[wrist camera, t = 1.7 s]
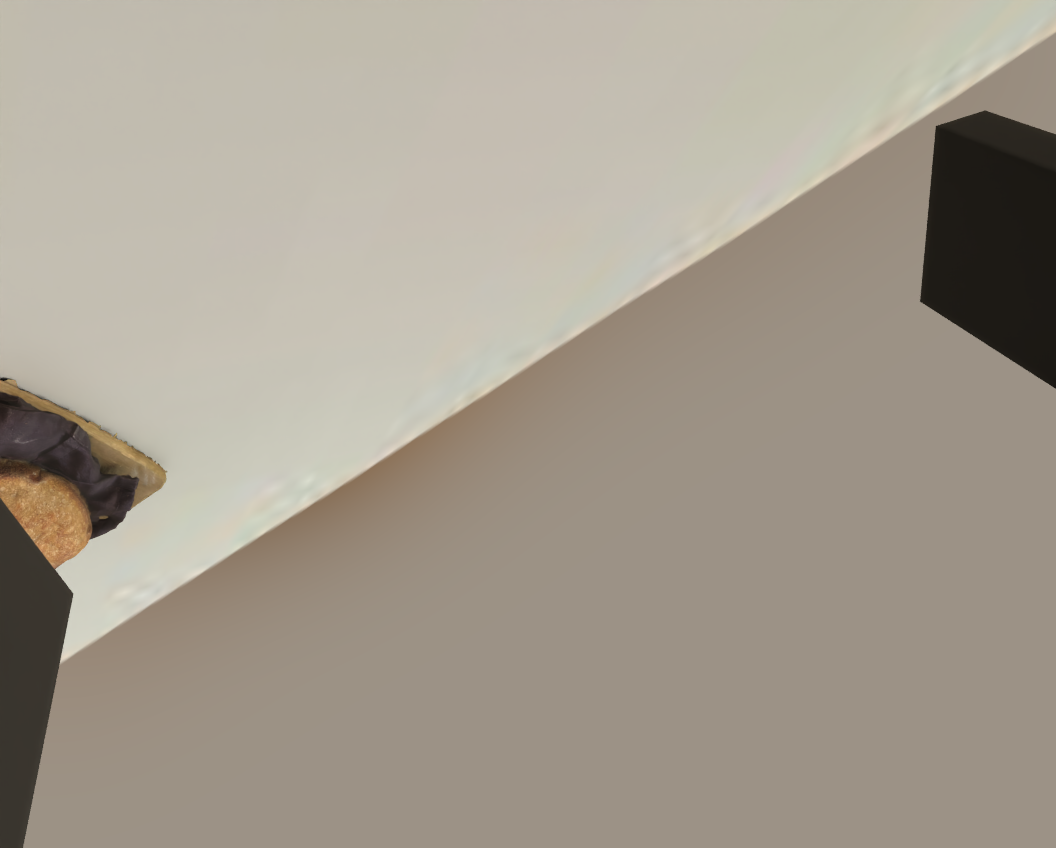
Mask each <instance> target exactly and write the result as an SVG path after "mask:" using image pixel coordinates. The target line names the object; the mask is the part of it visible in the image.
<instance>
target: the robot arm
mask: <svg viewBox="0 0 1056 848" xmlns="http://www.w3.org/2000/svg"><path fill="white" fill-rule="evenodd" d="M920 302H922V303H923V304H925V305H927V306H928V307H930V308H931V309H933V310H934V311H936V312H937V313H939V314H940V315H942V316H944V317H945V318H947V319H948V320H950V321H951V322H953V323H954V324H956V325H958V326H959V327H961V328H962V329H964V330H965V331H967V332H968V333H970V334H972V335H973V336H975V337H976V338H978V339H979V340H981V341H983V342H984V343H986V344H987V345H989V346H990V347H992V348H993V349H995V350H997V351H998V352H1000V353H1001V354H1003V355H1004V356H1006V357H1007V358H1009V359H1010V360H1012V361H1014V362H1015V363H1017V364H1018V365H1020V366H1022V367H1023V368H1024V369H1026V370H1028V371H1029V372H1031V373H1032V374H1034V375H1035V376H1037V377H1038V378H1040V379H1042V380H1043V381H1045V382H1046V383H1048V384H1049V385H1051V386H1053V387H1054V388H1056V134H1053V133H1050V132H1047V131H1044V130H1041V129H1038V128H1035V127H1032V126H1029V125H1026V124H1023V123H1020V122H1017V121H1014V120H1011V119H1008V118H1005V117H1002V116H999V115H997V114H993V113H991V112H988V111H983V112H979V113H976V114H973V115H970V116H966V117H963V118H960V119H957V120H954V121H951V122H948V123H944V124H941V125H938V126H936V132H935V143H934V154H933V165H932V176H931V187H930V198H929V210H928V221H927V232H926V243H925V254H924V265H923V277H922V288H921V299H920ZM72 598H73V593H72V591H71V590H70V589H69V588H68V586H67V585H66V584H65V582H64V581H63V580H62V578H61V577H60V576H59V574H58V573H57V572H56V570H55V569H54V568H53V566H52V565H51V564H50V563H49V561H48V560H47V559H46V557H45V556H44V555H43V553H42V552H41V551H40V549H39V548H38V547H37V545H36V544H35V543H34V541H33V540H32V539H31V538H30V536H29V535H28V534H27V532H26V531H25V530H24V528H23V527H22V526H21V524H20V523H19V522H18V520H17V519H16V518H15V516H14V515H13V514H12V513H11V511H10V510H9V509H8V507H7V506H6V505H5V503H4V502H3V501H2V499H1V498H0V848H23V844H24V839H25V834H26V829H27V824H28V819H29V814H30V809H31V804H32V799H33V794H34V788H35V784H36V779H37V774H38V769H39V763H40V759H41V754H42V748H43V744H44V738H45V734H46V728H47V724H48V719H49V714H50V709H51V704H52V698H53V693H54V688H55V683H56V678H57V673H58V668H59V663H60V658H61V653H62V648H63V643H64V638H65V633H66V628H67V623H68V618H69V613H70V608H71V603H72Z"/></svg>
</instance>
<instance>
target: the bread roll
mask: <svg viewBox="0 0 1056 848" xmlns="http://www.w3.org/2000/svg"><path fill="white" fill-rule="evenodd" d="M100 427H101V425H100V426H98V425H97V424H95V423H93V422H90V421H89V423H87V422H86V421H84V419H83V418H82V417H79V416H77V415H76V413H75V411H69V410H66V409H63V408H61V407H59V406H57V405H56V404H54V403H52V402H50V401H49V400H46V399H43V400H41V399H40V398H38V397H37V396H35V395H33V394H31V393H30V392H28V391H23V390H20V389H18V387H17V384H16V381H15V380H9V379H8V380H6V381H2V380H0V498H1V499H2V501H3V502H4V503H5V505H6V506H7V507H8V509H9V510H10V511H11V513H12V514H13V515H14V516H15V518H16V519H17V520H18V522H19V523H20V524H21V526H22V527H23V528H24V530H25V531H26V532H27V534H28V535H29V536H30V538H31V539H32V540H33V541H34V543H35V544H36V545H37V547H38V548H39V549H40V551H41V552H42V553H43V555H44V556H45V557H46V559H47V560H48V561H49V563H50V564H51V565H52V566H53V568H54V569H56V568H57V567H58V566H60V565H61V564H62V563H64V562H65V561H67V560H69V559H71V558H73V557H74V556H76V555H77V554H78V553H79V552H80V551H81V550H82V549H83V548H84V547H85V546H86V545H87V543H88V541H89V540H90V539H93V538H95V537H98V536H100V535H103V534H105V533H107V532H109V531H110V530H113V529H115V528H116V527H117V525H118V524H119V523H121V522H122V521H123V520H124V518H125V516H126V513H127V511H130V510H131V508H133V507H134V506H136V505H137V504H138V503H140V502H141V501H143V500H144V499H146V498H147V497H149V496H150V495H152V494H153V493H154V492H156V491H158V490H159V489H161V488H162V486H163V485H164V483H165V482H166V474H165V472H167V471H165V470H164V469H163V468H162V467H161V466H160V465H159V464H158V465H157V464H156V463H155V462H156V461H155V462H154V461H153V460H152V458H150V457H148V456H147V457H146V456H145V455H144V454H143V453H142V452H140V451H138V450H136V449H135V448H133V446H132V447H130V446H128V445H127V442H123V441H122V440H118V439H117V438H116V436H117V434H115V435H114V436H113V437H112V436H111V434H110V433H108V432H106V431H104V430H100Z"/></svg>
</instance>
